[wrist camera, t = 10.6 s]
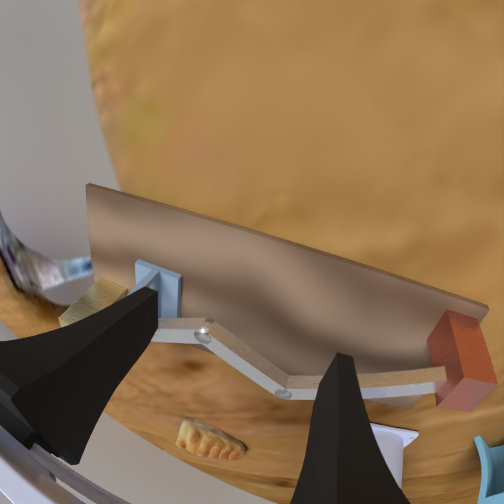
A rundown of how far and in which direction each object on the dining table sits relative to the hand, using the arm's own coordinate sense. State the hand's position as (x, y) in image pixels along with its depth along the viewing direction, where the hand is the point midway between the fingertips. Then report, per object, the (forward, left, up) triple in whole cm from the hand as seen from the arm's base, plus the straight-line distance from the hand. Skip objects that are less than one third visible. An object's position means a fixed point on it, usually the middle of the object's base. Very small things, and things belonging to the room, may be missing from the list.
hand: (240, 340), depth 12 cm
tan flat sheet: (-8, 0, -10) cm, 13 cm away
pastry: (-33, +3, -11) cm, 34 cm away
